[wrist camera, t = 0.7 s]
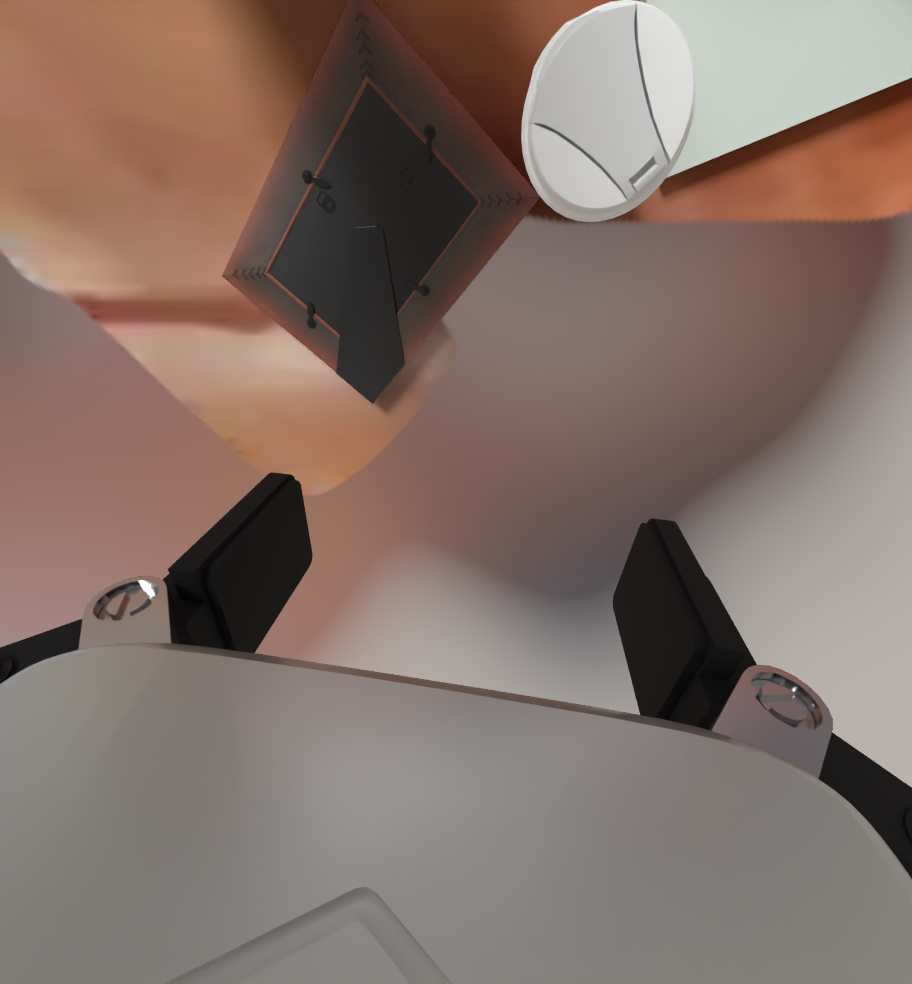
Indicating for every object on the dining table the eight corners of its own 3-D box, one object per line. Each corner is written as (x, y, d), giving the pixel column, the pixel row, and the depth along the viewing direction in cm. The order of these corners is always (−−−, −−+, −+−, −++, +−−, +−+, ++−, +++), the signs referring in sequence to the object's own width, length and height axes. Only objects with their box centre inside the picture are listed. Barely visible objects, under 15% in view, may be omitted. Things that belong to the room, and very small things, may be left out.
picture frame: (380, 396, 42) (539, 199, 32) (372, 404, 40) (540, 196, 29) (236, 273, 37) (367, 0, 27) (219, 275, 35) (355, -20, 25)
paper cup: (652, 167, 29) (741, 116, 17) (561, 252, 33) (585, 258, 21) (588, 58, 27) (642, -87, 15) (498, 162, 30) (484, 111, 18)
